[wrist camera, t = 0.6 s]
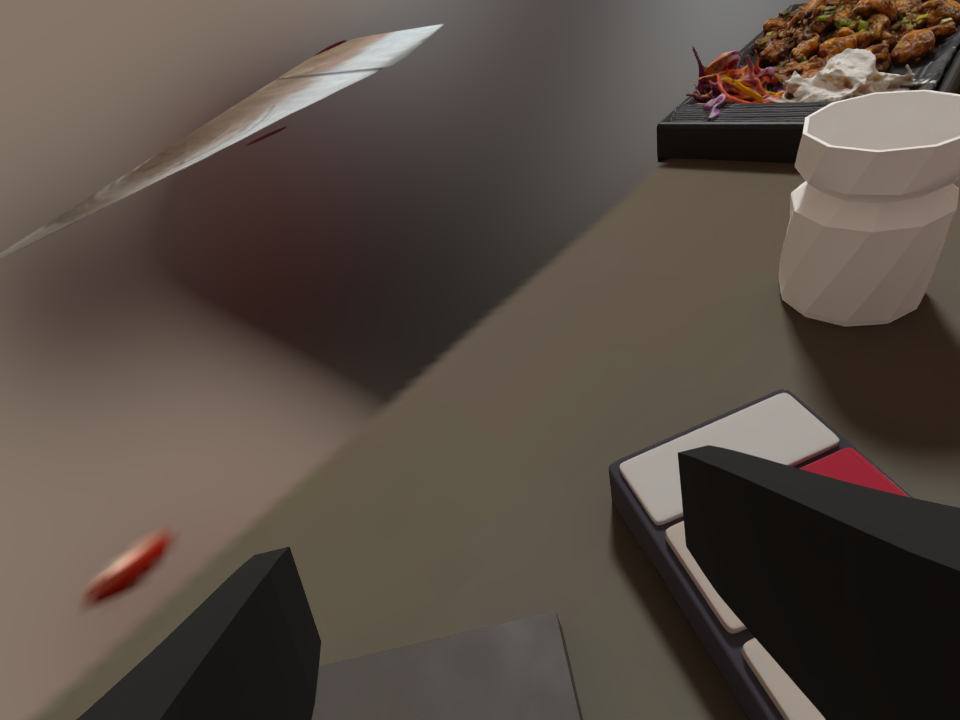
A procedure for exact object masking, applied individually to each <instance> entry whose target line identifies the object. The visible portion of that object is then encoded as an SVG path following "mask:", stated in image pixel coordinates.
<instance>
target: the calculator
mask: <svg viewBox="0 0 960 720" xmlns="http://www.w3.org/2000/svg"><path fill="white" fill-rule="evenodd" d="M707 445H711V446H716V447H721V448H726V449H730V450H734V451H738V452H742V453H745V454H749V455H753V456H756V457H760V458H764V459H767V460H771V461H774V462H777V463H781V464H784V465H788V466H791V467H795V468H798V469H802V470H806V471H809V472H813V473H816V474H820V475H823V476H827V477H831V478H834V479H838V480H842V481H845V482H849V483H853V484H857V485H861V486H865V487H869V488H873V489H877V490H881V491H885V492H889V493H893V494H898V495H902V496H906V497H910V498H912V497H911V496H910V495H909V494H908V493H906V492H905V491H904V490H903V489H902V488H901V487H900V486H898V485H897V484H896V483H895V482H894V481H893V480H891V479H890V478H889V477H888V476H887V475H886V474H885V473H883V472H882V471H881V470H880V469H879V468H878V467H877V466H875V465H874V464H873V463H872V462H871V461H870V460H869V459H867V458H866V457H865V456H864V455H863V454H862V453H861V452H859V451H858V450H857V449H856V448H855V447H854V446H852V445H851V444H850V443H849V442H848V441H847V440H846V439H844V438H843V437H842V436H841V435H840V434H839V433H838V432H836V431H835V430H834V429H833V428H832V427H831V426H830V425H828V424H827V423H826V422H825V421H824V420H823V419H821V418H820V417H819V416H818V415H817V414H816V413H815V412H813V411H812V410H811V409H810V408H809V407H808V406H807V405H805V404H804V403H803V402H802V401H801V400H800V399H799V398H797V397H796V396H795V395H794V394H793V393H791V392H790V391H788V390H783V389H782V390H778V391H775V392H773V393H771V394H768V395H766V396H764V397H762V398H759V399H757V400H755V401H752V402H750V403H748V404H745V405H743V406H741V407H739V408H736V409H734V410H732V411H729V412H727V413H725V414H723V415H720V416H718V417H716V418H713V419H711V420H709V421H707V422H704V423H702V424H700V425H697V426H695V427H693V428H691V429H688V430H686V431H684V432H681V433H679V434H677V435H674V436H672V437H670V438H668V439H665V440H663V441H661V442H658V443H656V444H654V445H652V446H649V447H647V448H645V449H642V450H640V451H638V452H636V453H633V454H631V455H629V456H626V457H624V458H622V459H619V460H617V461H615V462H613V463H612V464H611V465H610V466H609V477H610V486H611V495H612V501H613V504H614V505H615V507H616V509H617V510H618V512H619V513H620V515H621V517H622V518H623V520H624V521H625V523H626V525H627V526H628V528H629V529H630V531H631V533H632V534H633V536H634V537H635V539H636V541H637V542H638V544H639V545H640V547H641V549H642V550H643V552H644V553H645V555H646V556H647V558H648V559H649V560H650V561H651V563H652V564H653V565H654V566H655V568H656V570H657V571H658V573H659V575H660V576H661V578H662V579H663V581H664V583H665V584H666V586H667V588H668V589H669V591H670V592H671V594H672V596H673V597H674V599H675V601H676V602H677V604H678V605H679V607H680V609H681V610H682V612H683V614H684V615H685V617H686V618H687V620H688V622H689V623H690V625H691V627H692V628H693V630H694V631H695V633H696V635H697V636H698V638H699V640H700V641H701V643H702V644H703V646H704V648H705V649H706V651H707V653H708V654H709V656H710V658H711V659H712V661H713V662H714V664H715V666H716V667H717V669H718V671H719V672H720V674H721V675H722V677H723V679H724V680H725V682H726V684H727V685H728V687H729V688H730V690H731V692H732V693H733V695H734V697H735V698H736V700H737V701H738V703H739V705H740V706H741V708H742V709H743V711H744V713H745V714H746V716H747V717H748V719H749V720H826V719H825V718H824V717H823V716H822V714H821V713H820V712H819V711H818V710H817V708H816V707H815V706H814V705H813V704H812V703H811V701H810V700H809V699H808V698H807V697H806V696H805V695H804V693H803V692H802V691H801V690H800V689H799V688H798V687H797V685H796V684H795V683H794V682H793V681H792V680H791V678H790V677H789V676H788V675H787V674H786V673H785V672H784V670H783V669H782V668H781V667H780V666H779V665H778V664H777V662H776V661H775V660H774V659H773V658H772V657H771V655H770V654H769V653H768V652H767V651H766V650H765V649H764V647H763V646H762V645H761V644H760V643H759V642H758V641H757V639H756V638H755V637H754V636H753V635H752V634H751V633H750V631H749V630H748V629H747V628H746V627H745V625H744V624H743V623H742V622H741V621H740V620H739V618H738V617H737V616H736V615H735V614H734V613H733V611H732V610H731V609H730V608H729V607H728V606H727V604H726V603H725V602H724V601H723V600H722V598H721V597H720V596H719V595H718V594H717V592H716V591H715V589H714V588H713V586H712V585H711V583H710V582H709V581H708V579H707V578H706V576H705V575H704V573H703V572H702V570H701V569H700V567H699V566H698V564H697V563H696V561H695V559H694V558H693V556H692V555H691V553H690V552H689V550H688V549H687V547H686V540H685V529H684V518H683V507H682V496H681V485H680V473H679V462H678V452H682V451H686V450H690V449H694V448H699V447H703V446H707Z"/></svg>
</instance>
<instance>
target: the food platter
mask: <svg viewBox="0 0 960 720" xmlns="http://www.w3.org/2000/svg"><path fill="white" fill-rule="evenodd" d="M763 29H764V30H763V31H761V32H760V33H759V34H758V35H757V36H756V37H755V38H754V39H753V40H751V41H750V42H749V43H748V44H747V45H746V46H745V47H744V48H743V49H741V50H740V51H730V52H727V53H723V54H721V55H719V56H718V57H717V58H716V59H715V60H714V61H713V62H712V63H711V65H709V66H708V67H704V66H703V65H702V63H701V61H700V59H699V57H698V55H697V52H696V50H695V48H694V47H693V51H694V54H695V56H696V59H697V61H698V65H699V78H698V80H699V82H698V83H697V84H694V85H695V87H696V89H697V90H696V91H694V92H693V93H688V94H686V96H689V97H688V98H687V99H685V101H683V102H682V103H681V104H679V105H677V107H676V108H675V109H674V110H673V111H672V112H671V113H670V114H669V115H668V116H666V117H665V118H664V119H663V120H662V121H661V122H660V123H659V124H658V126H657V155H658V156H657V157H658V162H662V163H664V162H665V161H666V160H667V159H669V158H685V159H709V160H733V161H758V162H782V163H795V162H796V157H797V153H798V149H799V145H800V141H801V138H802V133H803V128H804V122H805V117H807V116H809V115H810V114H812V113H814V112H816V111H818V110H819V109H821V108H823V107H825V106H827V105H828V104H830V103H832V102H837V101H841V100H845V99H849V98H854V97H858V96H862V95H867V94H871V93H875V92H893V91H911V90H932V91H939V92H946V93H954V94H956V93H957V91H958V89H959V87H960V0H812V1H810V2H808V3H803V4H795V5H791V6H789V7H788V8H787V9H786V10H785V11H784V12H783V13H779V16H778V17H777V18H772V19H768V20H767V21H766V22H765V23H764V25H763ZM889 62H890V63H889ZM891 62H892V63H891ZM904 66H905V67H904ZM715 71H716V72H715ZM692 81H693V82H694V80H692ZM844 94H845V95H844Z"/></svg>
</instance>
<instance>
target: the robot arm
mask: <svg viewBox="0 0 960 720" xmlns="http://www.w3.org/2000/svg"><path fill="white" fill-rule="evenodd" d="M678 462H679V473H680V485H681V496H682V507H683V518H684V529H685V540H686V547H687V549H688V550H689V552H690V553H691V555H692V556H693V558H694V559H695V561H696V563H697V564H698V566H699V567H700V569H701V570H702V572H703V573H704V575H705V576H706V578H707V579H708V581H709V582H710V583H711V585H712V586H713V588H714V589H715V591H716V592H717V594H718V595H719V596H720V597H721V598H722V600H723V601H724V602H725V603H726V604H727V606H728V607H729V608H730V609H731V610H732V611H733V613H734V614H735V615H736V616H737V617H738V618H739V620H740V621H741V622H742V623H743V624H744V625H745V627H746V628H747V629H748V630H749V631H750V633H751V634H752V635H753V636H754V637H755V638H756V639H757V641H758V642H759V643H760V644H761V645H762V646H763V647H764V649H765V650H766V651H767V652H768V653H769V654H770V655H771V657H772V658H773V659H774V660H775V661H776V662H777V664H778V665H779V666H780V667H781V668H782V669H783V670H784V672H785V673H786V674H787V675H788V676H789V677H790V678H791V680H792V681H793V682H794V683H795V684H796V685H797V687H798V688H799V689H800V690H801V691H802V692H803V693H804V695H805V696H806V697H807V698H808V699H809V700H810V701H811V703H812V704H813V705H814V706H815V707H816V708H817V710H818V711H819V712H820V713H821V714H822V716H823V717H824V718H825V719H826V720H960V508H957V507H952V506H947V505H942V504H937V503H933V502H928V501H923V500H919V499H914V498H910V497H906V496H902V495H898V494H893V493H889V492H885V491H881V490H877V489H873V488H869V487H865V486H861V485H857V484H853V483H849V482H845V481H842V480H838V479H834V478H831V477H827V476H823V475H820V474H816V473H813V472H809V471H806V470H802V469H798V468H795V467H791V466H788V465H784V464H781V463H777V462H774V461H771V460H767V459H764V458H760V457H756V456H753V455H749V454H745V453H742V452H738V451H734V450H730V449H726V448H721V447H716V446H711V445H707V446H703V447H699V448H694V449H690V450H686V451H682V452H678ZM320 646H321V640H320V637H319V634H318V631H317V628H316V625H315V622H314V619H313V616H312V613H311V610H310V607H309V604H308V601H307V598H306V595H305V592H304V589H303V586H302V583H301V580H300V577H299V574H298V571H297V568H296V565H295V562H294V559H293V556H292V553H291V550H290V547H286V548H282V549H278V550H274V551H270V552H266V553H262V554H257V555H254V556H253V557H252V558H250V559H249V560H248V561H247V562H245V563H244V564H243V565H242V566H241V567H240V568H239V569H238V570H236V571H235V572H234V573H233V574H232V575H231V576H230V577H229V578H228V579H227V580H226V581H225V582H224V583H223V584H222V585H221V586H220V587H219V588H218V589H216V590H215V591H214V592H213V593H212V594H211V595H210V596H209V597H208V598H207V599H206V600H205V601H204V602H203V603H202V604H201V605H200V606H199V607H198V608H197V609H196V610H195V611H194V612H193V613H192V614H191V615H190V616H189V617H188V618H187V619H186V620H185V621H183V622H182V623H181V624H180V625H179V626H178V627H177V628H176V629H175V630H174V631H173V632H172V633H171V634H170V635H169V636H168V637H167V638H166V639H165V640H164V641H163V642H162V643H161V644H160V645H159V646H158V647H156V648H155V649H154V650H153V651H152V652H151V653H150V654H149V655H148V656H147V657H146V658H144V659H143V660H142V661H141V662H140V663H139V664H138V665H137V666H136V667H135V668H133V669H132V670H131V671H130V672H129V673H128V674H127V675H126V676H125V677H124V678H122V679H121V680H120V681H119V682H118V683H117V684H116V685H115V686H114V687H113V688H111V689H110V690H109V691H108V692H107V693H106V694H105V695H104V696H103V697H102V698H100V699H99V700H98V701H97V702H96V703H95V704H94V705H93V706H92V707H91V708H89V709H88V710H87V711H86V712H85V713H84V714H83V715H81V716H80V717H79V718H78V719H77V720H312V715H313V710H314V705H315V699H316V690H317V680H318V670H319V658H320Z"/></svg>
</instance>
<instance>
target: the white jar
mask: <svg viewBox="0 0 960 720" xmlns="http://www.w3.org/2000/svg"><path fill="white" fill-rule="evenodd" d="M795 168H796V169H797V171H798V172H799V173H800V174H801V176H802V177H803V178H804V179H805V182H804V183H803V184H801V185H800V186H799V187H798V188H797V189H795V190H794V191H793V192H792V193H791V201H790V221H789V225H788V229H787V233H786V236H785V240H784V244H783V248H782V252H781V257H780V264H779V283H780V293H781V296H782V300H783V301H785V302H786V303H787V304H789V305H790V306H791V307H793V308H794V309H795V310H797V311H798V312H799V313H801V314H802V315H803V316H805V317H807V318H811V319H816V320H820V321H824V322H828V323H832V324H836V325H840V326H845V327H848V326H863V325H878V324H889V323H891V322H892V321H894V320H896V319H898V318H900V317H902V316H904V315H906V314H908V313H910V312H912V311H914V310H916V309H917V307H918V305H919V304H920V303H921V301H922V298H923V296H924V294H925V292H926V290H927V287H928V285H929V283H930V280H931V278H932V275H933V273H934V271H935V268H936V265H937V263H938V260H939V257H940V254H941V252H942V249H943V246H944V243H945V239H946V236H947V233H948V230H949V226H950V223H951V220H952V218H953V216H954V214H955V212H956V210H957V203H958V193H959V188H957V187H956V186H955V185H954V184H953V182H955V181H956V180H957V179H958V178H960V94H954V93H946V92H939V91H932V90H911V91H893V92H875V93H871V94H867V95H862V96H858V97H854V98H849V99H845V100H841V101H837V102H832V103H830V104H828V105H827V106H825V107H823V108H821V109H819V110H818V111H816V112H814V113H812V114H810V115H809V116H807V117H805V122H804V128H803V133H802V138H801V141H800V145H799V149H798V153H797V157H796V162H795Z"/></svg>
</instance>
